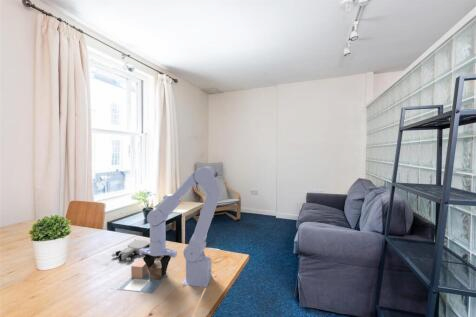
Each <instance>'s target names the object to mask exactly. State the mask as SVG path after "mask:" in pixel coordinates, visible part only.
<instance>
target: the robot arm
mask: <svg viewBox="0 0 476 317" xmlns="http://www.w3.org/2000/svg"><path fill="white" fill-rule="evenodd" d="M219 176H220V175H219V173H218V171H217V170H216V168H215V167H214V166H213V165H205V166H202V167H198V168H197V169H196V170H195V171H194V172H192V173H191V174H190V175H189V176H188V177H187V178H186V179H185V180H184V182H183V183H181V185H180V186H179V187H178V188H177V189H176V190H175V192H173V193H168V194H166V195H165V194H164V196H163V197H162V198H163V199H162V200H161V201H160V202H159V204H156V205H155V206H154V209H152V210H150V211H149V212H148V213H147V215H146V221H147V223H148V224H149V243H150V248H142V249H140V250H139V254H138V255H139V256H142V255H144V257H143V259H142V261H144V262H145V263H146V265H147V267H148V269H149V273H150V267H151V266H152V265H153V264H154V263H155V262H156V261H155V260H156V258H155V256H160V257H161V258H160V260H159V262H161V265H162V275H163V276H164V275H165V274H166V273H167V270H168V267H169V263H170V261H171V259H172V258H176V257H177V255H178V253H177V252H178V250H176V249H175V250H174V249H171V248H167V245H166V244H167V243H166V238H167V237H166V236H167V235H166V222H167V219H168V217H169V216H170V215H171V213H172V212H174V211H175V210H176V209H177V208H178V207H179V205H180V202H181V201H180V200H181V199H182V198H183V197H184V196H185V195H186V194H187V193H188V192H189V191H190V190H191V189H192V188H194V187H195V186H198V185H199V186H200V187H202V189H203V190H204V191H205V193H206V197H205V199H204V202H203V205H202V207H201V211H200V214H199V217H198V219H197V223H196V226H195V229H194V232H193V233H192V236H191V237H190V240H189V242H188V244H187V245H186V246H185V247H184V249H183V257H184V258H185V278H184V279H183V281H182V283H181V285H184V286H194V287H202V288H203V287H204V288H207V287H208V285H209V283H210V281H211V278H212V276H213V275H212V258H211V257H209V256H206V254H205V251H204V250H205V249H206V246H207V236H208V235H207V234H208V232H209V229H210V227H211V223H212V220H213V217H214V214H215V211H216V209H217V205H218V203H219V200H220V197H221V194H222V186H221V181H220V178H219Z"/></svg>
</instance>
